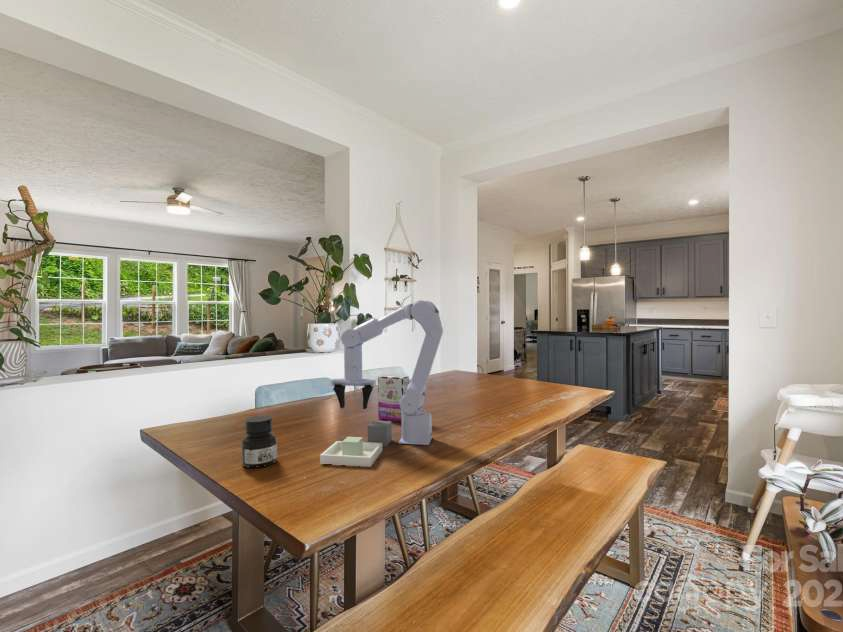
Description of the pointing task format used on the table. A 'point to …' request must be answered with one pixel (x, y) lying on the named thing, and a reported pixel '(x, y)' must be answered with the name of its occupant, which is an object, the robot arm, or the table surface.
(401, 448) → the table surface
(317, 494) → the table surface
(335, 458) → the tray
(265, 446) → the ink bottle
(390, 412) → the candy bar box
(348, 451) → the sage block
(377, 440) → the gray block
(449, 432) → the table surface
